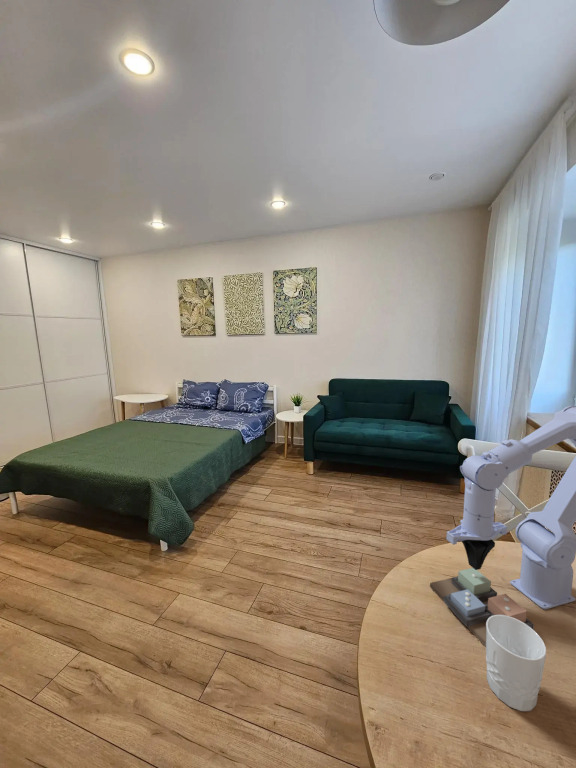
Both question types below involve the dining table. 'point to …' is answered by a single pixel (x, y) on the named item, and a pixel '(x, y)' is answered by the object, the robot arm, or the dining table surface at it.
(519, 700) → the white cup
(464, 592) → the tile three
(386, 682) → the dining table surface
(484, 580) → the tile one
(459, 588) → the board
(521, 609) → the tile two
